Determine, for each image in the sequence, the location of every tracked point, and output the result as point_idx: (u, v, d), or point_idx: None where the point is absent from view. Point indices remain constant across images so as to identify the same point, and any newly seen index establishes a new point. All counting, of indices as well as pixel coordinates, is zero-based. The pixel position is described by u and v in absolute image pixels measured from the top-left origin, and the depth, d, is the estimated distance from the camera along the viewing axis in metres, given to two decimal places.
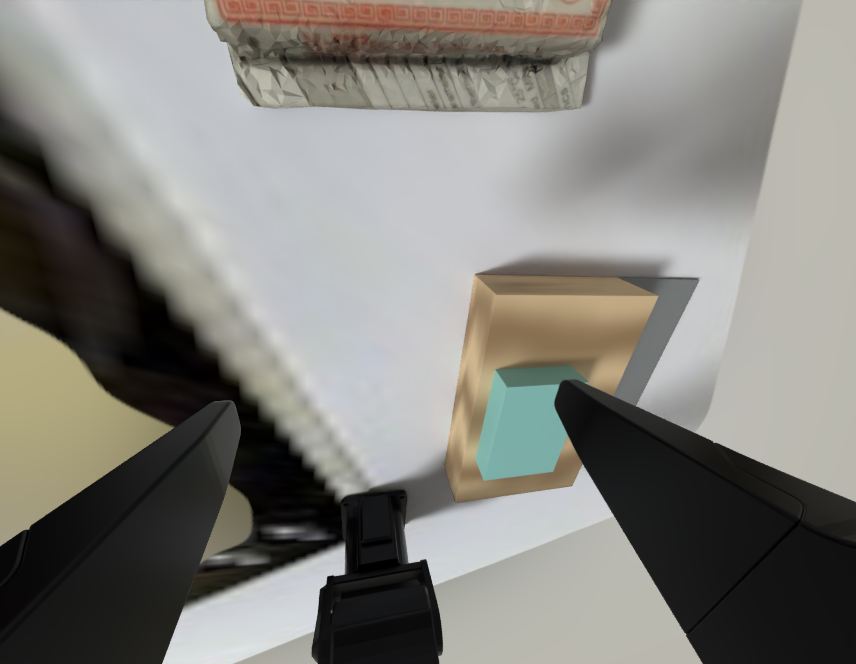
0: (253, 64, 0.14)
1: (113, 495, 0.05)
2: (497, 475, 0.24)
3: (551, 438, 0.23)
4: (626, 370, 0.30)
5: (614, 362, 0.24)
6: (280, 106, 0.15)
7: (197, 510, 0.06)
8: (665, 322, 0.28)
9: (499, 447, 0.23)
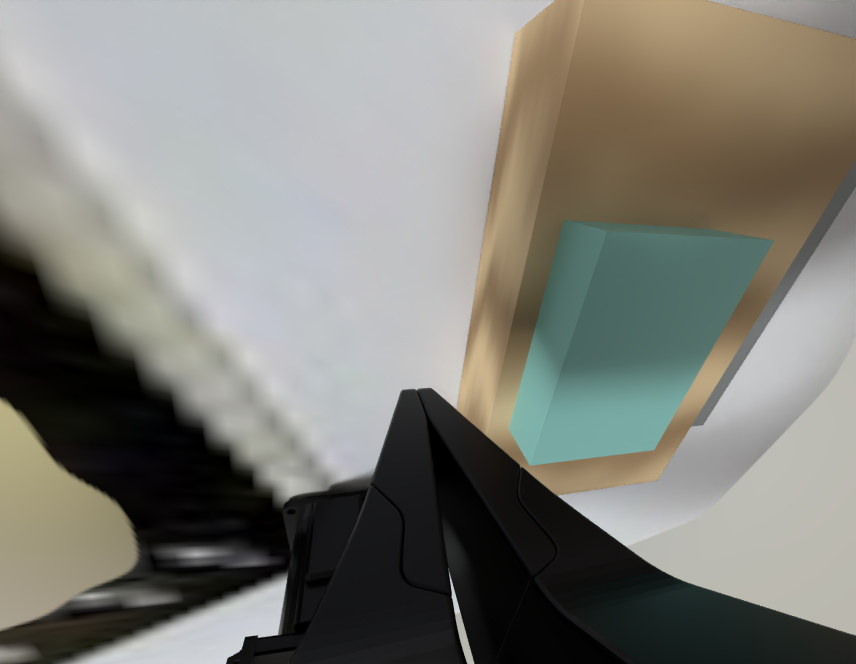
0: None
1: (410, 462, 0.06)
2: (555, 455, 0.12)
3: (667, 379, 0.12)
4: None
5: (787, 230, 0.12)
6: None
7: None
8: None
9: (567, 394, 0.11)
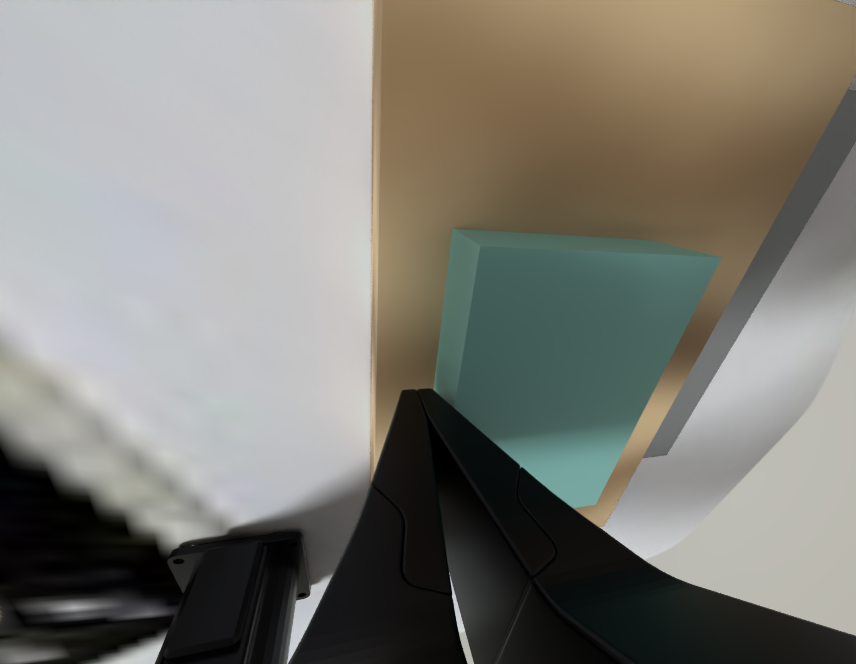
0: None
1: (410, 462, 0.06)
2: None
3: (599, 427, 0.09)
4: None
5: (729, 243, 0.10)
6: None
7: None
8: (795, 201, 0.14)
9: None
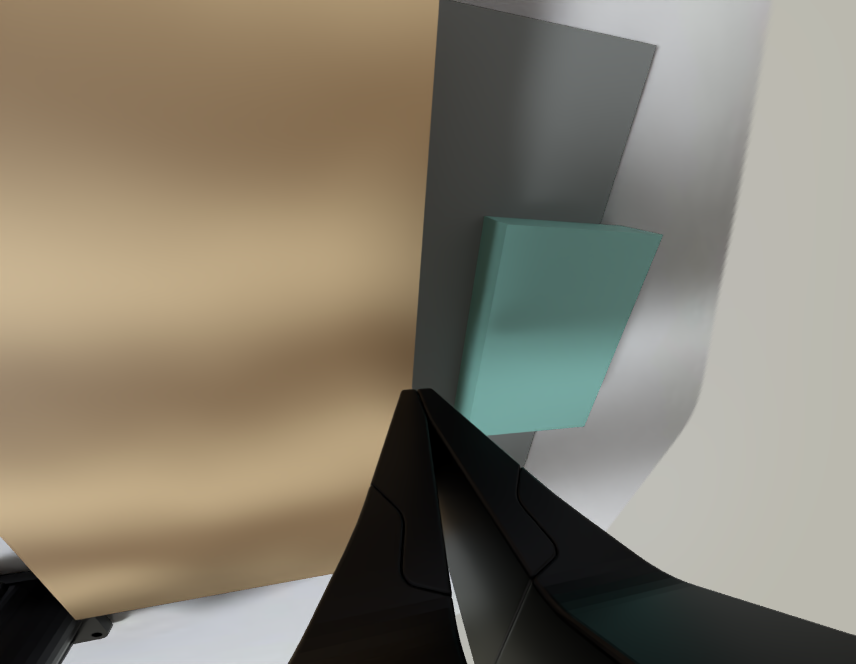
0: None
1: (410, 462, 0.06)
2: None
3: None
4: None
5: (368, 221, 0.07)
6: None
7: None
8: (581, 178, 0.12)
9: None
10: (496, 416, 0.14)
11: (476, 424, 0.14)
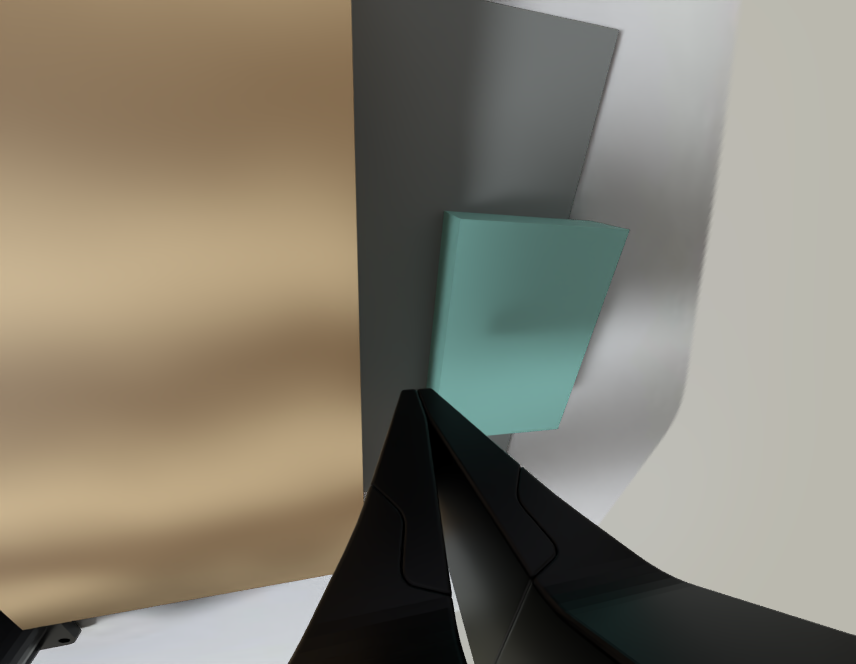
0: None
1: (410, 462, 0.06)
2: None
3: None
4: None
5: (295, 214, 0.07)
6: None
7: None
8: (545, 171, 0.11)
9: None
10: None
11: None
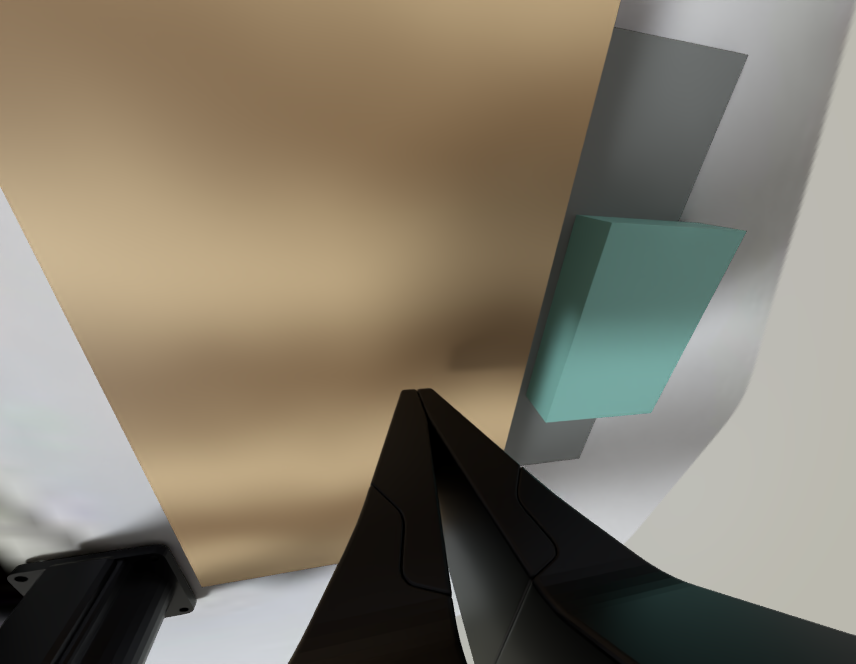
0: None
1: (410, 461, 0.06)
2: None
3: None
4: None
5: (519, 221, 0.08)
6: None
7: None
8: (666, 178, 0.12)
9: None
10: (575, 402, 0.14)
11: (556, 410, 0.14)
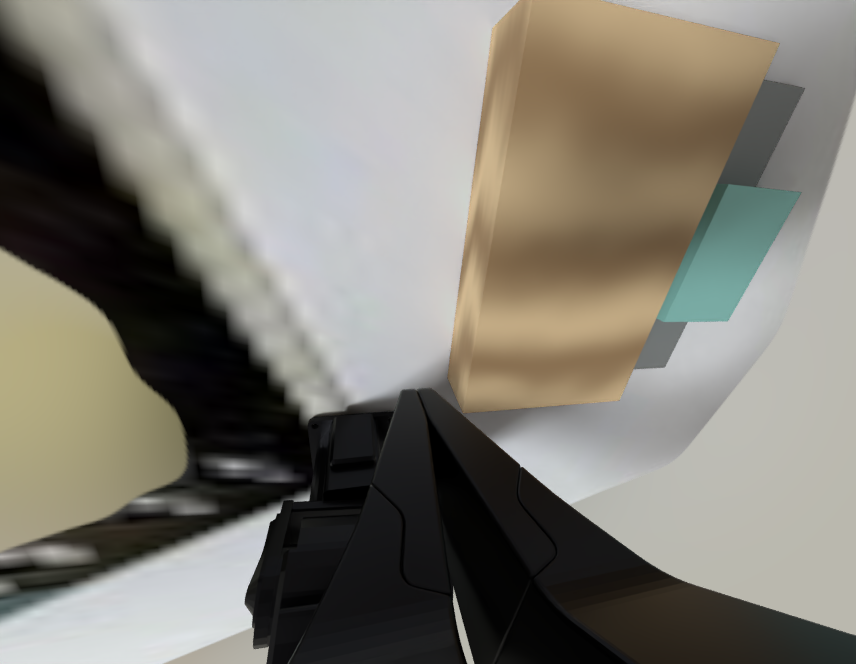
0: None
1: (410, 461, 0.06)
2: None
3: None
4: None
5: (699, 176, 0.16)
6: None
7: None
8: (751, 161, 0.20)
9: None
10: (684, 307, 0.22)
11: (672, 312, 0.22)
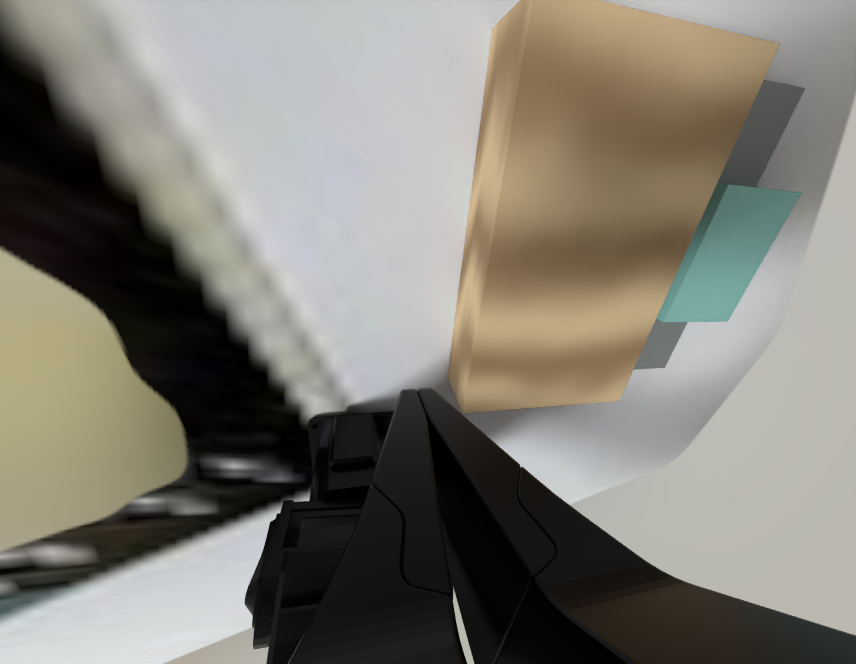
0: None
1: (410, 461, 0.06)
2: None
3: None
4: None
5: (699, 177, 0.16)
6: None
7: None
8: (751, 161, 0.20)
9: None
10: (684, 308, 0.22)
11: (672, 312, 0.22)
